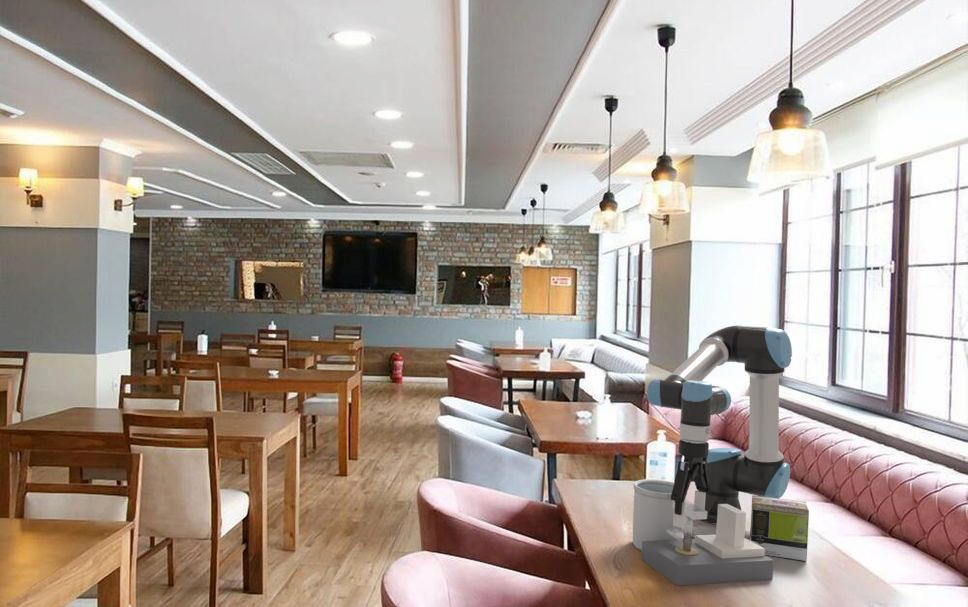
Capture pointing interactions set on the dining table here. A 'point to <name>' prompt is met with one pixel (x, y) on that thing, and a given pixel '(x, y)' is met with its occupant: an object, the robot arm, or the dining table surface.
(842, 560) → the dining table surface
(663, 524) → the utensil holder
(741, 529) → the cover
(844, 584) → the dining table surface
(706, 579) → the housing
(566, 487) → the dining table surface
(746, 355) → the robot arm
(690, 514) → the t key
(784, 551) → the tea box
